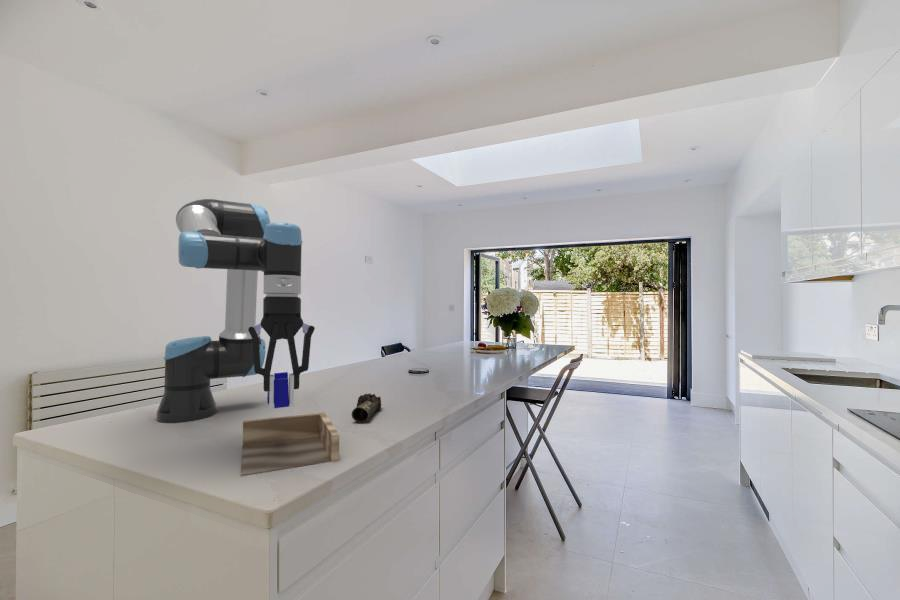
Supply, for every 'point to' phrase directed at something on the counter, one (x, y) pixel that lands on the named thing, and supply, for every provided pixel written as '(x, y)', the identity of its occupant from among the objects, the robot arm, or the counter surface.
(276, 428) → the corner board
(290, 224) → the robot arm
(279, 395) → the cable clip
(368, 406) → the metal pipe
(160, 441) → the counter surface
